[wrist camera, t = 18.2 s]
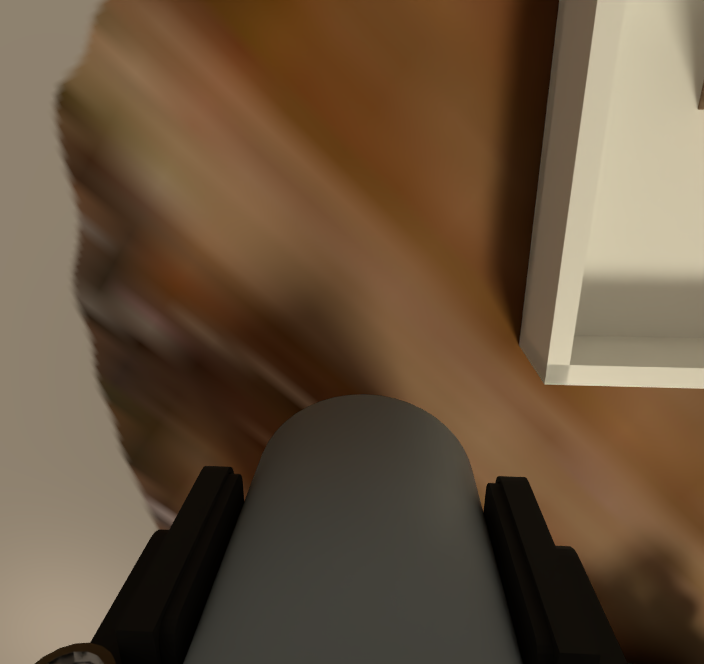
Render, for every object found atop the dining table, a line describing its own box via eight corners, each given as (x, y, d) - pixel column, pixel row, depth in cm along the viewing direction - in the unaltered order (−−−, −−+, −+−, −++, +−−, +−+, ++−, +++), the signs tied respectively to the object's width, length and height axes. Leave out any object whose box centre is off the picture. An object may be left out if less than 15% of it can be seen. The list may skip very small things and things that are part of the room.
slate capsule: (250, 391, 12) (79, 722, 5) (483, 397, 11) (618, 753, 5) (262, 572, 13) (147, 992, 7) (465, 581, 13) (547, 1027, 7)
